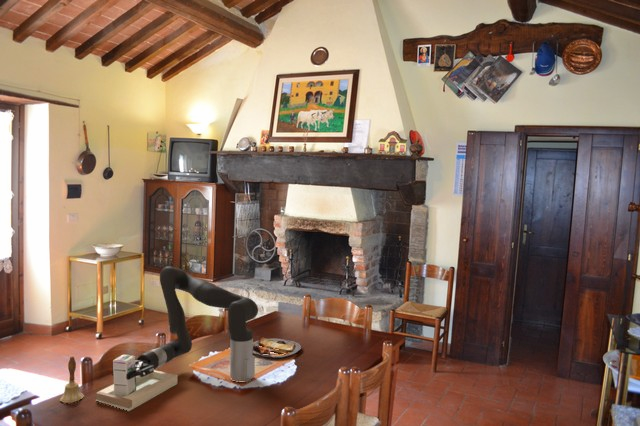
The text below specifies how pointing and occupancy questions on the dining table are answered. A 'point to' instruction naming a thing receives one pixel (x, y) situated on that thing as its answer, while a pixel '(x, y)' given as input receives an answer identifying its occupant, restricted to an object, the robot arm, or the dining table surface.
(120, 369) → the syrup box
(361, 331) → the dining table surface
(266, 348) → the food plate
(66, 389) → the hand bell
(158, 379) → the tray
